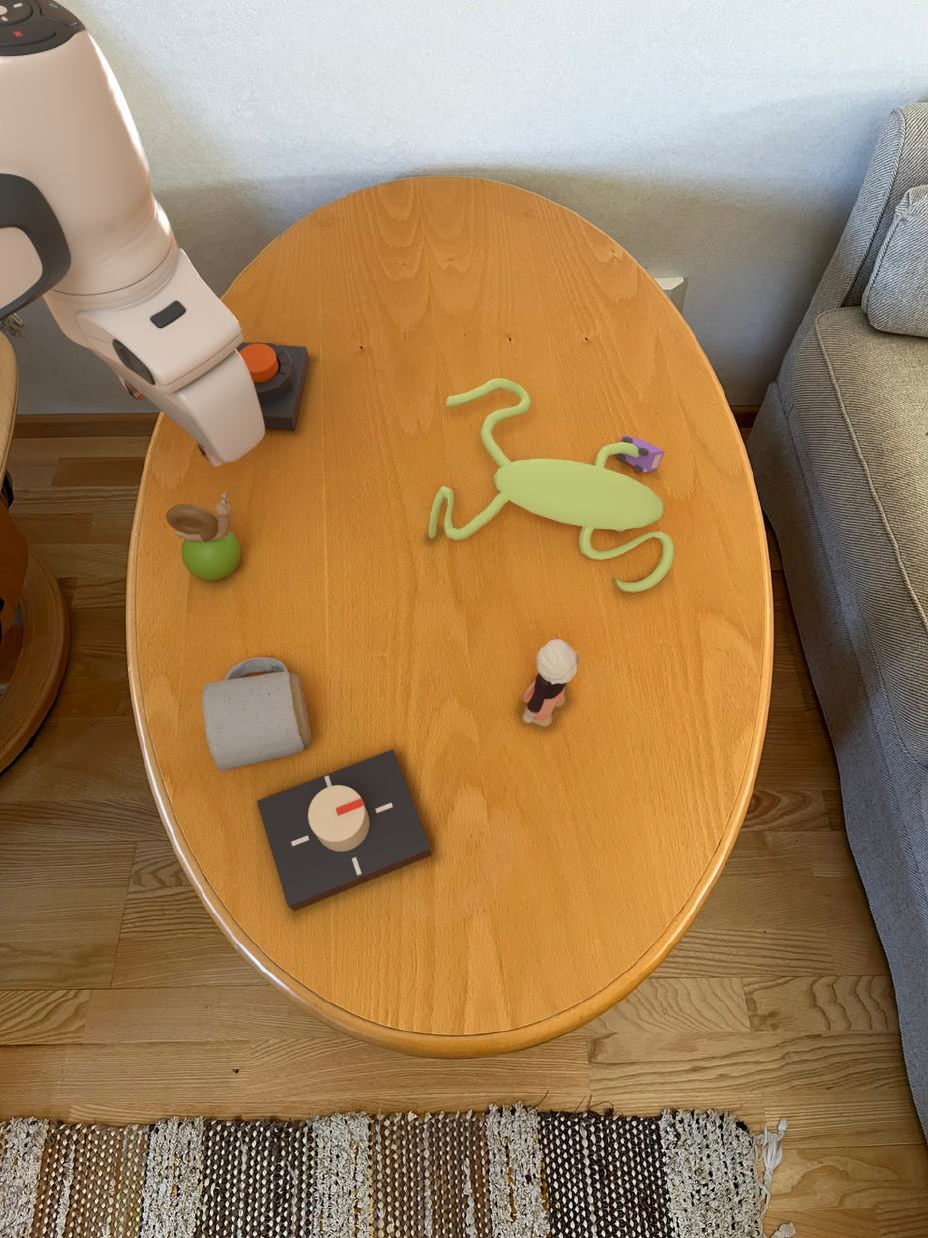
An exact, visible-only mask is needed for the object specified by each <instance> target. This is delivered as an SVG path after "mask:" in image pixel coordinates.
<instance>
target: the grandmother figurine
mask: <svg viewBox="0 0 928 1238" xmlns="http://www.w3.org/2000/svg"><path fill="white" fill-rule="evenodd" d="M535 661H536V671H537V672H538V673H537V675H536V677H535V680H533V681H532V683H530V685H529V686H528V687H527V689H526V690H525V692H524V694H523V696H522V699H521V700H522V702H523V703H527V704H526V705H525V707H524V708H523V713H522V717H521V719H522V721H523V722H524V723H526V724H535V725H537V726H540V727H543V728H546V727H547V728H548V727H549V726H550V725H551V724H552V722H553V720H554V714H553V711H554V709H556V708H557V709H558V708H561V707H562V706H563V705H564V704H565V702H566V696H565V692H566V691H565V690H566V686H567V683H569V682H571V681H572V679H573V678H574V677H575V675H576V674H577V672H578V664H579V662H580V656H579V654H578V653H577V652H576V651H575V650H574V649H573V648H572V647H571V646H570V645H569V644H568V642H566V641H564V640H563V639H559V638H555V639H551V640H549V641H548V642H547V643H546V644H545V645H543V646H542V647H541V648H540V649H539V651H538V653H537V654H536V658H535Z"/></svg>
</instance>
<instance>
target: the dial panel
mask: <svg viewBox="0 0 928 1238" xmlns="http://www.w3.org/2000/svg"><path fill="white" fill-rule="evenodd" d="M335 785H342V786H346V787H349V788H351V789H353V790H354V791H356V792H357V793H358V794H359V796H360V797H361V799H362V801H363V803H364V805H365V808H366V810H367V813H368V816H369V830H368V833H367V835H366V837H365V839H364V840H363V841H362V842H361V843H360V844H359V845H358V846H357V847H355V848H353V849H351V850H348V851H342V852H340V851H333V850H331V849H329V848H327V847H326V846H324V845H323V844H322V843H321V841H320V840H319V839H318V837H317V836H316V834H315V833H314V832H313V830H312V828H311V827H310V824H309V820H308V811H309V807H310V804H311V802H312V800H313V799H314V797H315V796H316V795H317V794H318V793H319V792H320V791H322V790H323V789H325V788H327V787H330V786H335ZM256 803H257V806H258V810H259V815H260V816H261V820H262V823H263V826H264V831H265V835H266V837H267V841H268V843H269V848H270V851H271V854H272V858H273V860H274V861H273V862H274V864H275V868H276V871H277V874H278V877H279V881H280V885H281V888H282V891H283V895H284V898H285V901H286V905H287V907H288V908H289V909H291V910H292V911H293V912H297V911H298V910H302V909H303V908H306V907H309V906H311V905H314V904H316V903H318V902H321V901H324V900H326V899H328V898H330V897H333V896H336V895H338V894H341V893H343V892H347V891H349V890H351V889H354V888H356V887H358V886H361V885H363V884H366V883H368V882H370V881H373V880H375V879H378V878H380V877H383V876H385V875H387V874H389V873H392V872H395V871H398V870H400V869H403V868H404V867H407V866H409V865H412V864H414V863H417V862H419V861H423V860H425V859H427V858H429V857H431V856H432V849H431V846H430V843H429V840H428V838H427V835H426V832H425V830H424V826H423V825H422V822H421V819H420V816H419V814H418V811H417V808H416V806H415V803H414V801H413V798H412V796H411V793H410V790H409V787H408V785H407V782H406V780H405V777H404V774H403V771H402V768H401V766H400V764H399V761H398V759H397V756H396V754H395V751H394V749H390V750H387V751H384V752H382V753H380V754H377V755H373V756H372V757H369V758H365V759H364V760H360V761H357V762H356V763H353V764H351V765H348V766H344V767H342V768H340V769H337V770H334V771H332V772H330V773H327V774H324V775H321V776H319V777H316V778H314V779H311V780H308V781H305V782H303V783H299V784H298V785H295V786H293V787H291V788H287V789H284V790H282V791H279V792H277V793H275V794H274V793H273V794H272V795H268V796H265V797H264V798H261V799H259V800H257V801H256Z"/></svg>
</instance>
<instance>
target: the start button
mask: <svg viewBox="0 0 928 1238" xmlns="http://www.w3.org/2000/svg"><path fill="white" fill-rule="evenodd" d="M239 354H240V355H241V357H242V358H243V360H244V362H245V364H246V366H247V367H248V370H249V372H250V375H251V377H252V380H253V383H258V384H259V383H264V382H267V381H270V380H271V379H273V378H274V377H275V376H276V374H277V372H278V363H277V359H276V355H275V352H274V350H273V349H272V348H271V347H269V346H267V345H265V344H251V345H248V346H246V347H245V348H243V349H242V350H241V351H240V352H239Z"/></svg>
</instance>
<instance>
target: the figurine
mask: <svg viewBox="0 0 928 1238" xmlns="http://www.w3.org/2000/svg"><path fill="white" fill-rule="evenodd" d="M498 390H504V391H507V392H509V393H512V394H514V395H515V396H516V397H518V399H519V401H520V402H519V403H518V404H516V405H513V406H509V407H504V408H500V409H497V410H495V411H493V412H491V413H489V414H488V415H487V416H486V418H485V420H484V422H483V424H482V426H481V430H480V433H479V436H480V439H481V442H482V444H483V446H484V449H485V450H486V451H487V453H488V454H489V456H490V458H492V460H493V461H494V462H495V464H496V465H497V466H498V467H499V468H498V469H497V471H496V472H495V474H494V475H493V477H492V478H493V482H494V484H495V487H496V489H497V491H498V493H497V494H496V496H495V497H494V498H493V499H492V501H491V502H490V503H489V504H488V505H487V506H486V508H485V509H483V510H482V511H481V512H480V513H478V514H477V515H476V516H475V517H474V518H472V519H471V520H470V521H469V522H468V523H467V524H465V525H464V526H463V527H461V528H455V527H454V523H453V520H452V518H453V511H454V505H455V493H454V490H453V489H452V488H450V487H447V486H445V485H442V486H441V487H440V488H439V490H438V492H437V493H436V494H435V496H434V499H433V502H432V504H431V505H432V506H431V511H430V514H429V515H430V516H429V526H428V538H429V539H433V538H435V536H436V535H437V529H438V524H439V523H438V522H439V517H440V513H441V508H442V505H443V503H444V501H445V500H446V501H447V503H446V504H447V506H446V507H447V508H446V512H445V514H444V515H445V516H444V522H443V530H444V533H445V536H446V538H447V539H448V540H449V539H450V540H452V541H455V542H460V541H463V540H466V539H468V538H470V537H471V536H472V535H474V534H475V533H476V532H477V531H478V530H480V529H481V528H482V527H484V526H485V525H486V524H487V523H489V522H490V521H491V520H492V519H494V518H495V517H496V516H497V515H498V513H499V512H500V511H501V510H502V508H503V507H504V505H506V504H507V503H508V502H511V503H513V504H515V505H517V506H519V507H521V509H522V508H523V509H525V510H526V511H529V512H530V513H532V514H534V515H537V516H540V517H544V518H547V519H549V520H553V521H555V522H558V523H563V524H566V525H572V526H578V527H581V529H580V530H579V534H578V538H577V539H578V540H577V542H578V546H579V547H578V548H579V551H580V552H581V553H582V554H583V555H584V556H585V557H586V558H587V559H590V560H595V561H602V560H607V559H613V558H615V557H619V556H621V555H623V554H625V553H628V552H629V551H631V550H632V549H634V548H635V547H637V546H638V545H640V544H642V543H643V542H645V541H646V540H648V539H652V538H653V539H657V540H658V541H659V542H660V544H661V547H662V548H661V557H660V559H659V562H658V564H657V565H656V567H655V569H654V570H653V571H652V572H651V573H650V574H649V575H647V576H646V577H644V578H643V579H641V580H639V581H638V580H637V581H635V582H625V581H622V580H619V579H618V578H617V576H616V575H615V574H612V576H611V578H612V582H613V584H614V586H615V587H616V588H617V589H619V590H620V591H621V592H622V593H623V592H624V593H629V594H636V593H637V594H638V593H642V592H645V591H648V590H651V589H652V588H654V587H655V586H657V585H658V584H659V583H660V582H661V581H662V580H663V579H664V578H665V577H666V575H667V573H668V572H669V571H670V569H671V567H672V565H673V561H674V557H675V543H674V541H673V539H672V537H671V535H669V534H667V533H665V532H663V531H660V530H657V531H656V530H655V531H652V532H647V533H644V534H642V535H640V536H637V537H636V538H634V539H632V540H631V541H628V542H627V543H623V544H622V545H619V546H617V547H613V548H611V549H606V550H596V549H595V548H593V546H592V541H591V538H592V534H593V532H594V529H600V530H614V531H616V532H618V533H621V532H625V531H626V530H629V529H630V530H631V529H637V528H645V527H647V526H649V525H651V524H654V523H656V522H658V521H660V520H661V518H662V516H663V514H664V513H665V511H666V509H665V506H664V503H663V499H662V498H661V497H660V496H659V495H658V494H656V492H654V490H652V489H651V488H650V487H649V486H647V485H646V484H643V483H642V482H640V481H638V480H636V479H634V478H632V477H630V476H629V475H626V474H623V473H621V472H617V471H614V470H611V469H608V468H606V464H607V459H608V458H609V457H611V456H615V455H616V456H617V457H616V459H617V460H618V461H620V462H623V463H624V462H627V463H628V464H629V465H631V466H633V467H634V468H633V470H634V472H637V473H641V474H642V473H643V474H644V473H649V472H654V471H657V470H658V468H659V466H660V464H661V462H662V458H663V456H664V454H665V450H663V449H661V448H660V447H658V446H656V445H654V444H652V443H650V442H647V441H646V440H642V439H640V438H635V437H632V436H631V435H622V436H621V439H620V442H615V443H610V444H606V445H604V446H602V447H601V448H600V450H599V452H598V453H597V454H596V457H595V460H594V464H589V463H585V462H580V461H575V460H569V459H555V458H543V457H542V458H540V457H539V458H531V459H521V460H515V461H511V460H510V459H509V458H508V457H507V456H506V454H505V453H504V452H503V450H502V449H501V448H500V447H499V445H498V443H497V442H496V441H495V439H494V436H493V431H494V428H495V427H496V425H497V423H499V422H501V421H504V420H507V419H510V418H517V417H520V416H521V415H524V414H526V413H528V411H529V410H530V408H531V406H532V402H531V397H530V394H529V392H527V391H526V389H525V388H524V387H523V386H521V384H518V383H516V382H515V381H512V380H509V379H507V378H500V377H499V378H497V377H495V378H492V379H490V380H488V381H486V382H484V383H483V384H482V385H481V386H480V385H479V387H476V388H474V389H471V390H469V391H468V392H465V393H460V394H455V395H454V394H453V395H449V396H447V398H446V402H445V403H446V404H445V405H446V406H445V408H454V407H458V406H462V405H467V404H469V403H471V402H474V401H476V400H479V399H481V398H483V397H485V396H487V395H488V394H490V393H492V392H495V391H498Z"/></svg>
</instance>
